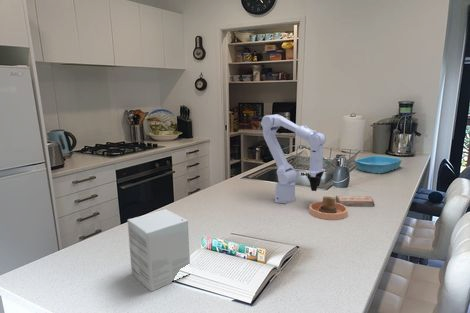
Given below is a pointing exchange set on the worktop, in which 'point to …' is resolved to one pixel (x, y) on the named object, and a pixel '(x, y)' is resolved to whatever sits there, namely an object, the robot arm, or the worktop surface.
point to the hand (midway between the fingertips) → (315, 188)
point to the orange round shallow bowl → (340, 214)
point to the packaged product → (355, 201)
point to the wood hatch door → (328, 203)
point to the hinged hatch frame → (327, 210)
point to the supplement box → (158, 247)
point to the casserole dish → (378, 164)
